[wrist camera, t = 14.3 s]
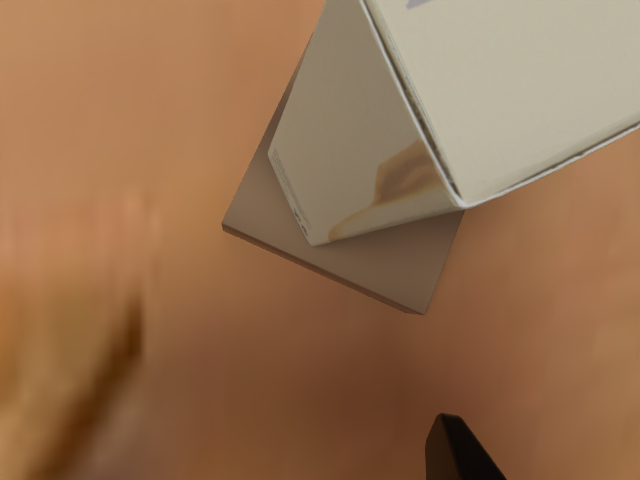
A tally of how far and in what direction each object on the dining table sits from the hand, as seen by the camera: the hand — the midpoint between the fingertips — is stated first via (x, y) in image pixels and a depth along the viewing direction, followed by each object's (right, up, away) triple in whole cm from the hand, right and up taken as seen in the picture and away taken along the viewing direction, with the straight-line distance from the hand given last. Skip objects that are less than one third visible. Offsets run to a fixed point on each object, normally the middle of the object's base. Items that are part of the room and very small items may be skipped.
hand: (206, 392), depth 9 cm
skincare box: (+4, +6, +10) cm, 13 cm away
